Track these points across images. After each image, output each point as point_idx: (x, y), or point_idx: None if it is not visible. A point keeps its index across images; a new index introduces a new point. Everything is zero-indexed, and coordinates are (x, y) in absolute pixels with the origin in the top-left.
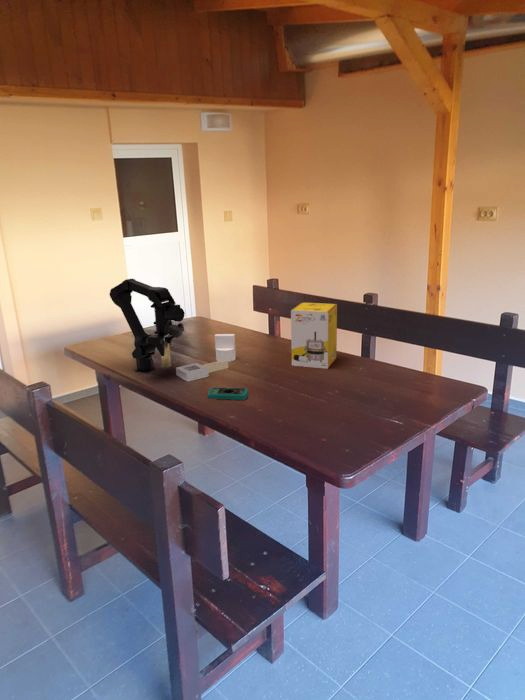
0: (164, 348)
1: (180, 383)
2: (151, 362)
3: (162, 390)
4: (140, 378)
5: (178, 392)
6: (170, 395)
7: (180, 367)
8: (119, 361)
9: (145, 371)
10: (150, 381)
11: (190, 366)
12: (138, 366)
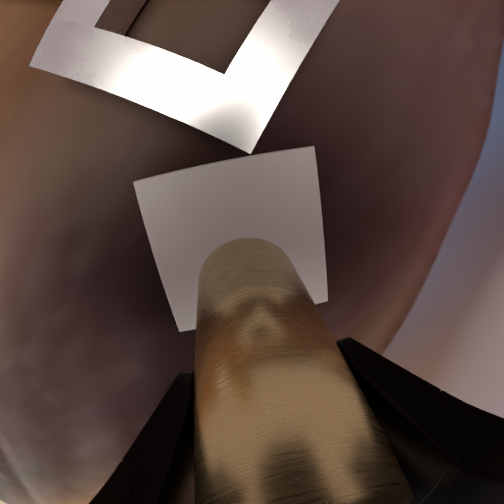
0: (376, 424)
1: (357, 36)
2: None
3: (477, 99)
4: None
5: (461, 4)
6: (496, 33)
7: (225, 108)
8: None
9: None
10: (389, 260)
11: (139, 41)
12: None
